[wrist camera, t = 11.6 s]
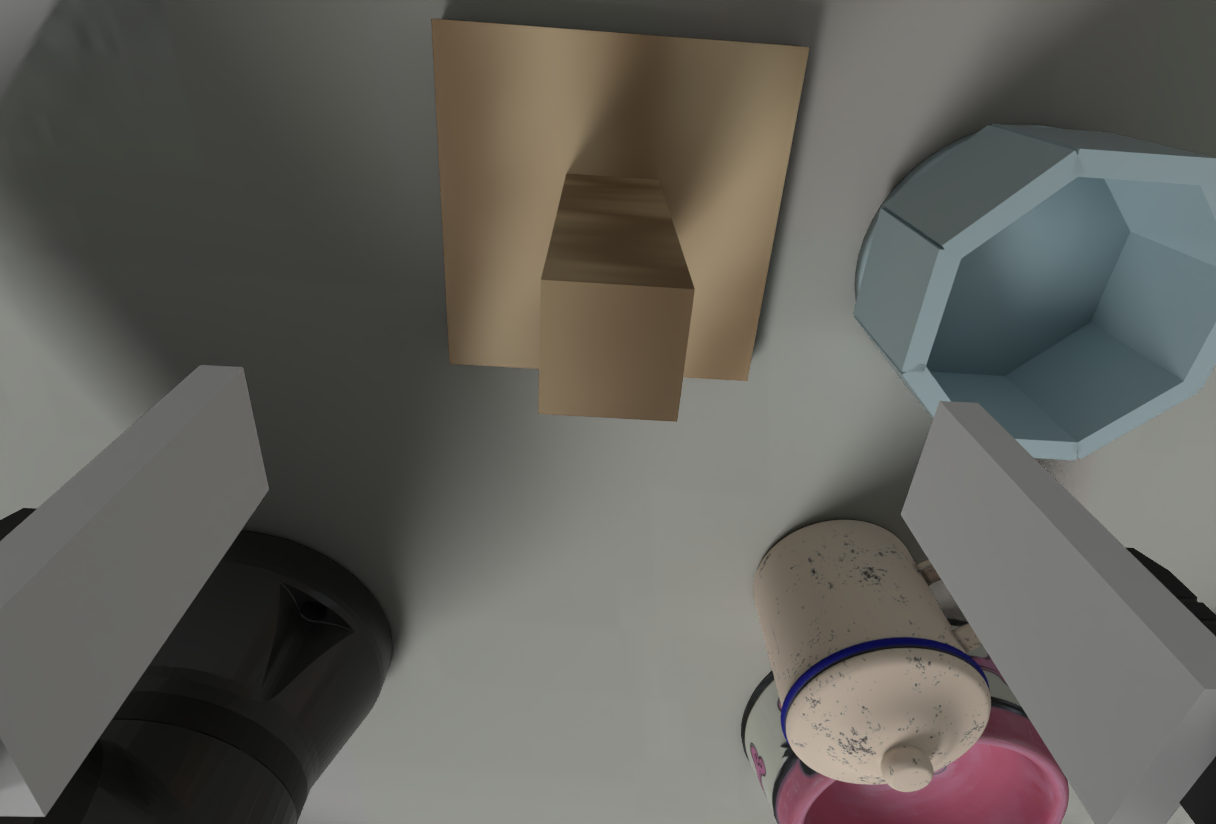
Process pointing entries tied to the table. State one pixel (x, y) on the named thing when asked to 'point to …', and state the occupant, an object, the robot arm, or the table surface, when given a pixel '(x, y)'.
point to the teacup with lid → (867, 657)
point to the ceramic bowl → (1047, 281)
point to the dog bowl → (958, 793)
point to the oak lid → (609, 206)
